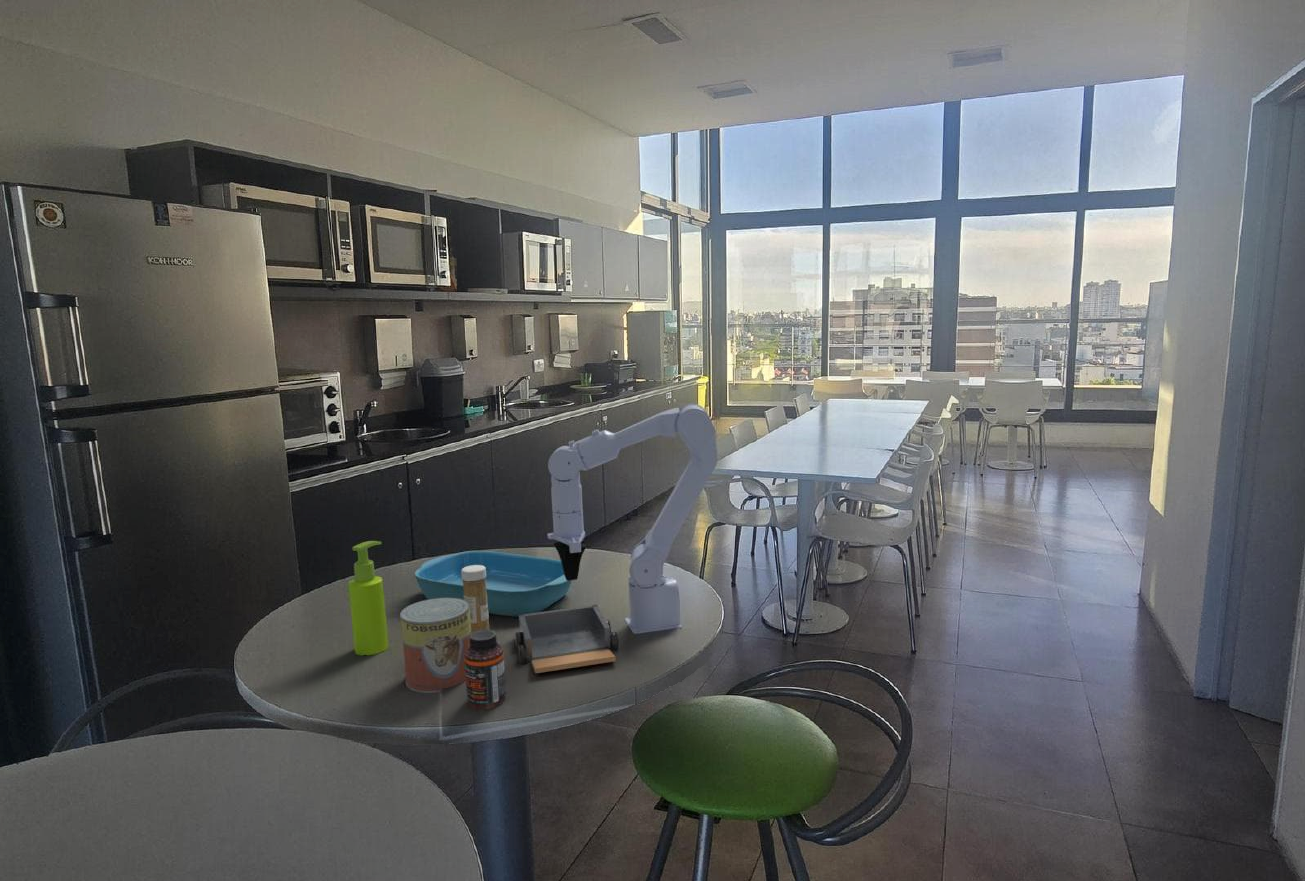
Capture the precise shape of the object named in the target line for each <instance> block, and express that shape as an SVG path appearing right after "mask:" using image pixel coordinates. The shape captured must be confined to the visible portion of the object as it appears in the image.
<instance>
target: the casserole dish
mask: <svg viewBox="0 0 1305 881" xmlns="http://www.w3.org/2000/svg"><path fill="white" fill-rule="evenodd" d="M471 565H482V566H484V567H485V568H486V592H487V602H488V613H489V614H492V615H499V616H506V617H514V618H516V617H517V618H519V615H523V614H530V613H538V612H543V611H544V610H545V609H547V608H549V607H550V606H552V605H553V604H554V602H555V603H557V602H558V601H559V600H561V599H562V598H563V597H564V596H565V595H566V594H567V593H568V591H569V589H570V588H571V584H572V582H573V580H569V581H567V580H566V578H565V575H564V572H563V568H562V563H561V559H555V558H548V557H540V556H534V555H533V556H532V555H524V554H515V553H510V552H502V551H501V552H500V551H492V550H491V551H490V550H467V551H462V552H456V553H452V554H448V555H442V556H438V557H435V558H432V559H429V560H426V561H425V562H423V563H422V564H421V565H420V568H418V569H417V570H416V571H415V572H414V576H415V579H416V581H417V584H418V586H419V588H420V591H421V593H422V594H423V595H424V597H425V598H426V599H427V600H428V599H434V598H459V599H463V600H464V589H463V581H462V576H461V570H462V569H463V568H464V567H467V566H471Z"/></svg>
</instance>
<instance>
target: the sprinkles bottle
mask: <svg viewBox="0 0 1305 881" xmlns="http://www.w3.org/2000/svg"><path fill="white" fill-rule="evenodd" d="M461 576H462V581H463V589H464V600H465V601H467V602H468V603H469V604H470V621H471V634H472V633H474V632H476V631H480V630H491V628H490V621H489V618H490V617H489V614H490V613H488V602H487V592H486V568H485V567H484V566H482V565H471V566H467V567H464V568H463V569H462V570H461Z"/></svg>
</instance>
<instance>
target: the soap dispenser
mask: <svg viewBox="0 0 1305 881" xmlns="http://www.w3.org/2000/svg"><path fill="white" fill-rule="evenodd" d="M382 543H383V542H382V541H377V540H368V541H367V540H366V541H364V542H363V541H362V542H361V543H358V544H356V545H354V546H352V548H351V549H352V551H356V552H357V561H355V563H354V564H353V571H354V579H352V580H350V581H349V582H348V583H347V586H348V594H349V596H348V597H349V605H350V617H351V626H352V635H353V636H352V637H353V646H354V648H353V649H354V653H355V654H356V655H357V656H363V655H367V656H372V655H373V656H374V655H378V654H380V653H383V652H385V651H386V650H387V649H388V648H389V638H388V627H387V616H386V615H387V614H386V607H385V606H386V604H385V603H386V602H385V593H384V583H383V578H382V577H381V576H377V575H376V574H375V564H374V560H371V559H369V551H368V549H369V548H371V547H374V546H378V545H382ZM382 651H383V652H382Z"/></svg>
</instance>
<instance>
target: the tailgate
mask: <svg viewBox="0 0 1305 881" xmlns="http://www.w3.org/2000/svg"><path fill="white" fill-rule="evenodd" d="M616 661H617V659H616V656H615V654H614V653H613V652H612V650H611V649H605V650H598V651H592V652H585V653H578V654H571V655H565V656H558V657H551V658H545V659H538V660H531V661H530V662H531V666H532V669H533V671H534V673H535V674H540V673H546V672H553V671H560V670H561V671H562V670H567V669H572V668H573V669H574V668H580V667H587V666H592V665H598V664H599V665H600V664H605V663H606V664H607V663H611V662H612V663H613V662H616Z"/></svg>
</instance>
